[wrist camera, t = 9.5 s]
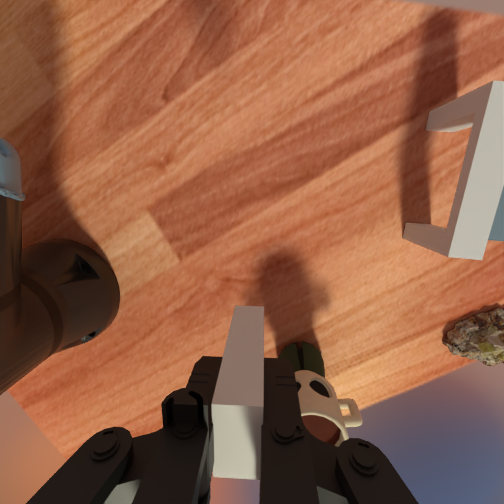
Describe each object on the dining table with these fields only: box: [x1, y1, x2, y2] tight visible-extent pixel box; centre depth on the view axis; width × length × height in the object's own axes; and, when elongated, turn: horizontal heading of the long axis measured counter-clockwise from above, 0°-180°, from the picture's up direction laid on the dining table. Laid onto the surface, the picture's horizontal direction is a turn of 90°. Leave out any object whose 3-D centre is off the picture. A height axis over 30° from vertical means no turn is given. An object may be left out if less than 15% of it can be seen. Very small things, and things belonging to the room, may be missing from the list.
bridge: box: [403, 81, 504, 260], centre depth 28 cm, size 3×14×9 cm, turn 175°
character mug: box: [279, 343, 362, 447], centre depth 33 cm, size 11×7×13 cm, turn 97°
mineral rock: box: [443, 308, 504, 366], centre depth 35 cm, size 11×4×8 cm
